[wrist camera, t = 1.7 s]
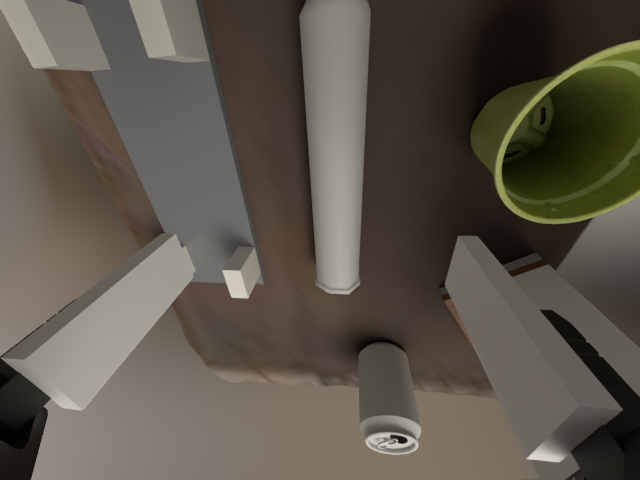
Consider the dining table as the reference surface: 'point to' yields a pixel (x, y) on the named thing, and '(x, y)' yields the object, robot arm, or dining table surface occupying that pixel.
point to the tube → (336, 132)
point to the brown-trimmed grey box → (598, 331)
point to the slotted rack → (159, 116)
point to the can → (387, 400)
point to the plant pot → (567, 139)
